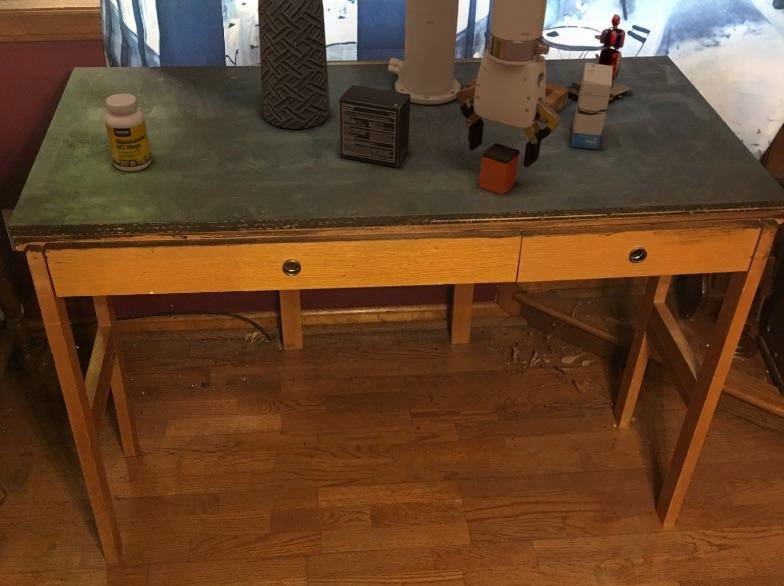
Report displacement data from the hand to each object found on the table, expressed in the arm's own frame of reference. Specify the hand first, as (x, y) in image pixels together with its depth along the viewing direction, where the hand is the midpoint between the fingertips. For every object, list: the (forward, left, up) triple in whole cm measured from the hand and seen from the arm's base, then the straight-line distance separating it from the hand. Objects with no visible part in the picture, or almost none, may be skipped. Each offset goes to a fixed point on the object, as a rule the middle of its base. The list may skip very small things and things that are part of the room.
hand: (502, 155), depth 136 cm
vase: (-42, +1, -6) cm, 43 cm away
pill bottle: (-53, -29, -6) cm, 61 cm away
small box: (-22, -3, -6) cm, 23 cm away
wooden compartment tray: (-12, +30, -6) cm, 33 cm away
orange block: (0, 0, -6) cm, 6 cm away
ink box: (+5, +24, -6) cm, 25 cm away
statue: (-1, +42, -6) cm, 43 cm away
